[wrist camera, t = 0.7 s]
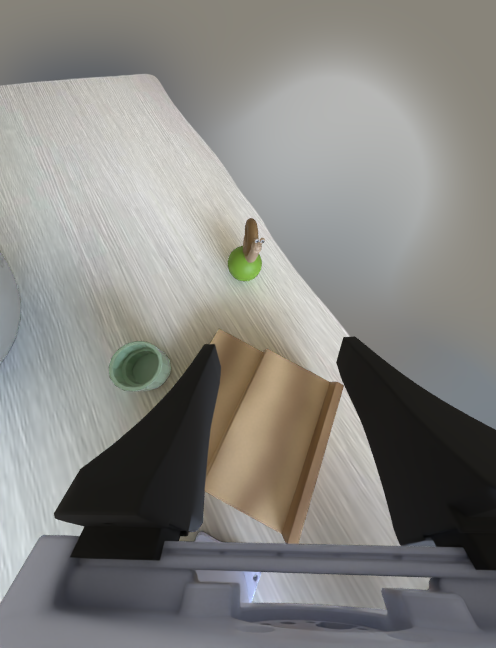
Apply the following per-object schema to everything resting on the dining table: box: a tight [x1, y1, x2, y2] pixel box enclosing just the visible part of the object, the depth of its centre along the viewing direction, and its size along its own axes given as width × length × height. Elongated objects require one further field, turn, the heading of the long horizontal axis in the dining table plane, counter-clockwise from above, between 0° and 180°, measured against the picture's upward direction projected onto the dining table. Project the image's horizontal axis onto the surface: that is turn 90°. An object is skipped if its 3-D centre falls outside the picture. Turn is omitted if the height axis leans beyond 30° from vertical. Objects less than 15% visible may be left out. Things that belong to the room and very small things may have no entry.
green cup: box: [109, 341, 171, 391], centre depth 24 cm, size 6×6×5 cm
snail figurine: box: [228, 218, 265, 281], centre depth 28 cm, size 5×6×12 cm
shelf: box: [205, 329, 344, 544], centre depth 23 cm, size 17×16×6 cm
